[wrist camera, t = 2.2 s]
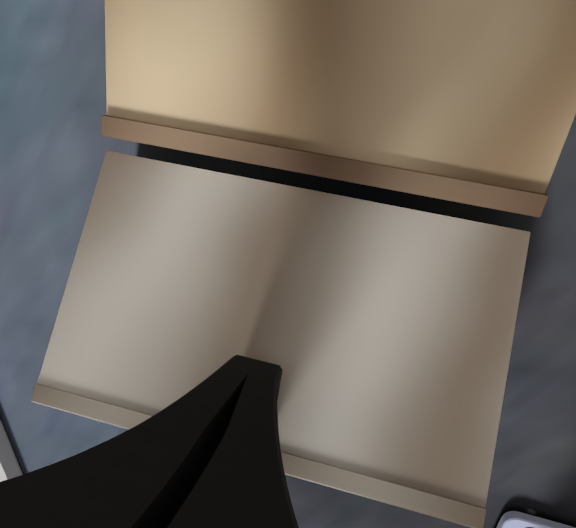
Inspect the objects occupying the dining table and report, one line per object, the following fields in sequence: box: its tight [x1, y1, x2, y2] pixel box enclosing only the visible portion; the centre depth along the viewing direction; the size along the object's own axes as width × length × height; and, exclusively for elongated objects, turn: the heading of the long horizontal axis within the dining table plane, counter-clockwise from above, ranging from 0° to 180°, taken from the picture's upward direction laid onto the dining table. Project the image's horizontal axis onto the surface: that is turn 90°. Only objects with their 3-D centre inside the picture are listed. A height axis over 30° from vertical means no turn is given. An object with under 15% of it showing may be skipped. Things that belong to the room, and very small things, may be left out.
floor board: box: [101, 0, 576, 218], centre depth 12 cm, size 13×6×2 cm, turn 81°
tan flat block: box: [31, 151, 531, 528], centre depth 13 cm, size 13×8×2 cm, turn 81°
